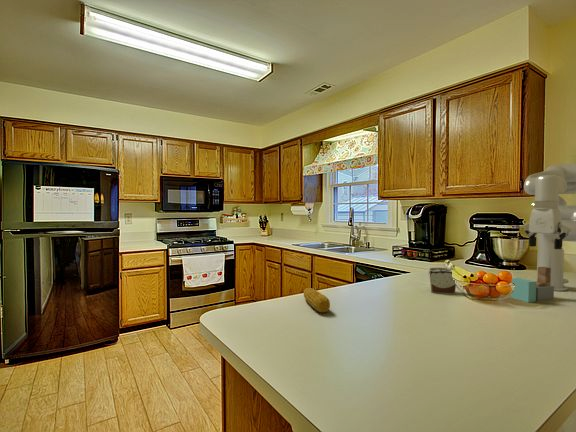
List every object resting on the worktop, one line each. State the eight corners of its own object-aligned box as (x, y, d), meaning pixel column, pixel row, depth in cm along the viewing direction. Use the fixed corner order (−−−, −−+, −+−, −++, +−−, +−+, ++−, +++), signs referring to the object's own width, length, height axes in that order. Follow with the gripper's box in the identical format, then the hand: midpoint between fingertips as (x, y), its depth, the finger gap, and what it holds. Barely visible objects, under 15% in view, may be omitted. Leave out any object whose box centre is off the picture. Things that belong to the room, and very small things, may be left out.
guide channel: (538, 295, 135) (538, 283, 135) (553, 299, 129) (554, 286, 129) (523, 296, 132) (523, 284, 132) (537, 300, 127) (538, 287, 126)
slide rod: (542, 288, 133) (543, 266, 133) (550, 289, 131) (550, 267, 130) (530, 289, 131) (530, 267, 131) (537, 291, 128) (538, 268, 128)
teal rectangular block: (518, 296, 132) (518, 277, 132) (535, 301, 125) (536, 281, 125) (510, 297, 131) (511, 278, 131) (528, 302, 124) (528, 282, 124)
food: (332, 314, 108) (332, 297, 108) (316, 315, 106) (316, 298, 106) (312, 297, 128) (312, 282, 128) (298, 298, 127) (298, 283, 127)
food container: (452, 290, 142) (453, 267, 141) (458, 294, 136) (459, 270, 135) (423, 289, 143) (424, 267, 143) (428, 292, 137) (428, 269, 136)
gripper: (518, 205, 138) (517, 245, 138) (563, 205, 121) (562, 250, 121) (531, 206, 140) (529, 245, 140) (577, 205, 123) (575, 250, 124)
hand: (544, 247), depth 131 cm, fingers open, 9 cm apart
